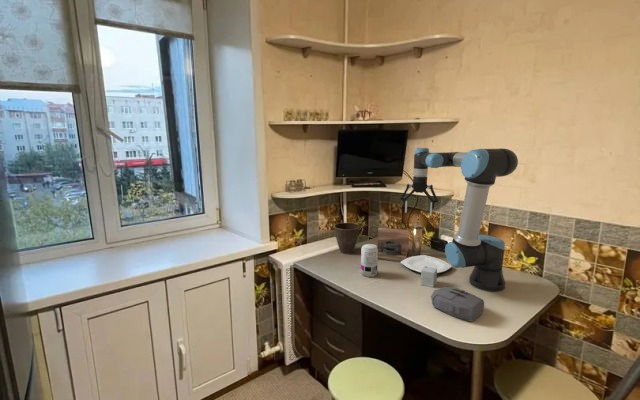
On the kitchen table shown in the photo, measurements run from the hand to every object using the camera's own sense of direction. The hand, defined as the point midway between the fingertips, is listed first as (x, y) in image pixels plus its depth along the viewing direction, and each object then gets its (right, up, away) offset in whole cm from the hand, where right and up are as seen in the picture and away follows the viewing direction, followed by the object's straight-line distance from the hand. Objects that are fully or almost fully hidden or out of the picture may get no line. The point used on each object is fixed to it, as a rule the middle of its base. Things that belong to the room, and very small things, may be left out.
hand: (418, 213), depth 194 cm
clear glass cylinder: (0, -25, +5) cm, 25 cm away
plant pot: (-40, -24, +12) cm, 48 cm away
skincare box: (-4, -33, -31) cm, 45 cm away
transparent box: (-14, -25, +6) cm, 29 cm away
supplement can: (-31, -30, -20) cm, 47 cm away
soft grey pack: (0, -38, -54) cm, 66 cm away
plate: (+1, -28, -12) cm, 31 cm away
